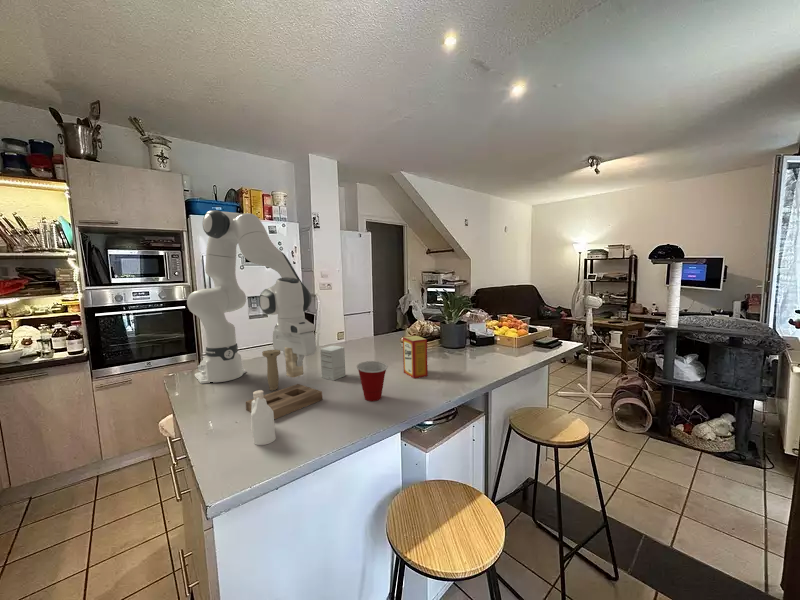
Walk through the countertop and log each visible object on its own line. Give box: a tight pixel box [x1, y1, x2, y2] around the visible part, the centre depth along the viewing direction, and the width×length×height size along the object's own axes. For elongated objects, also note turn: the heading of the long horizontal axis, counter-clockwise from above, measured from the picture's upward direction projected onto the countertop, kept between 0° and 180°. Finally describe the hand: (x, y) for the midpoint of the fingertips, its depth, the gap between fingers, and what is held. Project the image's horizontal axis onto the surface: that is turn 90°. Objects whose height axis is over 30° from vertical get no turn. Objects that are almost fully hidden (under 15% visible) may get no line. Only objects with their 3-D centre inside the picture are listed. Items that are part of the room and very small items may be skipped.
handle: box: [262, 349, 282, 391], centre depth 125 cm, size 5×6×15 cm
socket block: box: [245, 383, 323, 420], centre depth 111 cm, size 14×20×3 cm
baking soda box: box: [402, 335, 429, 379], centre depth 139 cm, size 10×6×16 cm
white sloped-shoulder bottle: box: [250, 398, 276, 446], centre depth 87 cm, size 6×12×6 cm
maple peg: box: [284, 347, 304, 378], centre depth 113 cm, size 4×4×10 cm
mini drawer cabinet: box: [319, 345, 347, 381], centre depth 139 cm, size 7×7×13 cm
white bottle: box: [250, 389, 267, 432], centre depth 94 cm, size 5×5×11 cm
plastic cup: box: [356, 360, 389, 402], centre depth 114 cm, size 11×11×12 cm
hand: (294, 364), depth 113 cm, fingers closed on maple peg, 4 cm apart
